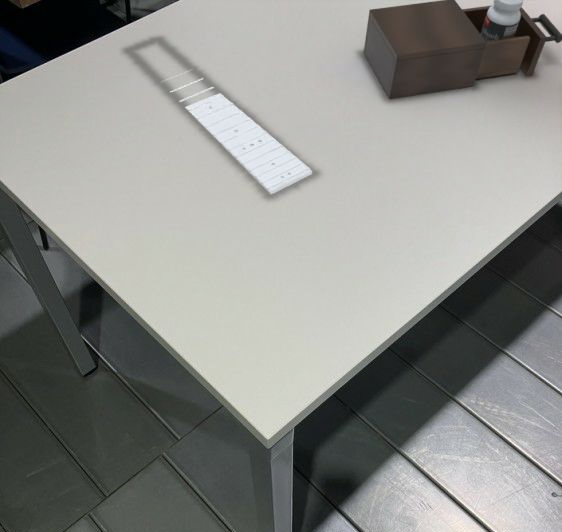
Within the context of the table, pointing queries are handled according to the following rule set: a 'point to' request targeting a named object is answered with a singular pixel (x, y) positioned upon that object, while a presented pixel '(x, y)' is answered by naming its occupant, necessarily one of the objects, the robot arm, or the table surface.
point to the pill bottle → (501, 20)
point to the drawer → (513, 44)
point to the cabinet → (423, 48)
